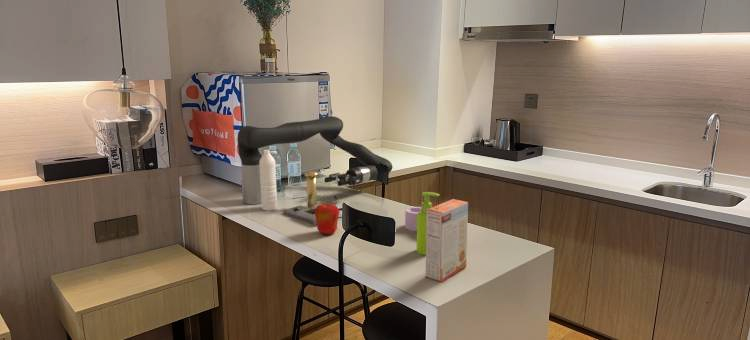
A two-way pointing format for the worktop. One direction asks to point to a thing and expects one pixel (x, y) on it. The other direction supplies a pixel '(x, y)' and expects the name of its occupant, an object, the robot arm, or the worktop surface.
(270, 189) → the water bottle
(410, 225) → the purple block with hole
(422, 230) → the soap dispenser
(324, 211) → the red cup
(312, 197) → the pin
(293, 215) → the inner chain end
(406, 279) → the worktop surface
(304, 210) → the outer chain end
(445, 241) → the cracker box
